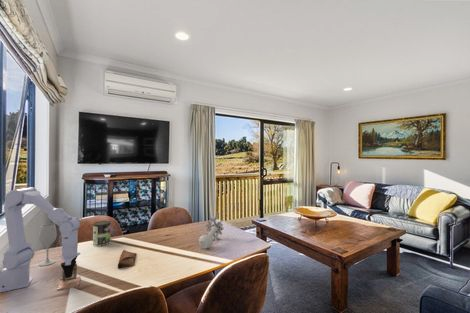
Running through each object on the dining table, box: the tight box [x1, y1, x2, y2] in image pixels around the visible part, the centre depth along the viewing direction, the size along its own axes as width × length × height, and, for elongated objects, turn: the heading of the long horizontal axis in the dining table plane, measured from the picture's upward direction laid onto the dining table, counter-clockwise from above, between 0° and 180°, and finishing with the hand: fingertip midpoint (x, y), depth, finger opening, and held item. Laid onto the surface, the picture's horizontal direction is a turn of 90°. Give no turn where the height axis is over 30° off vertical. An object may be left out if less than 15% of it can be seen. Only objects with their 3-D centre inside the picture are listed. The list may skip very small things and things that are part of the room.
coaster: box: [56, 275, 81, 291], centre depth 103 cm, size 8×8×1 cm
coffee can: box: [92, 220, 112, 247], centre depth 152 cm, size 10×10×14 cm
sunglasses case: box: [117, 249, 137, 270], centre depth 127 cm, size 18×7×7 cm, turn 21°
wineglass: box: [38, 222, 58, 267], centre depth 123 cm, size 8×8×21 cm
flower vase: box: [198, 216, 224, 250], centre depth 154 cm, size 13×18×25 cm
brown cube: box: [63, 263, 78, 282], centre depth 103 cm, size 5×5×5 cm
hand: (69, 274), depth 103 cm, fingers closed on brown cube, 5 cm apart
